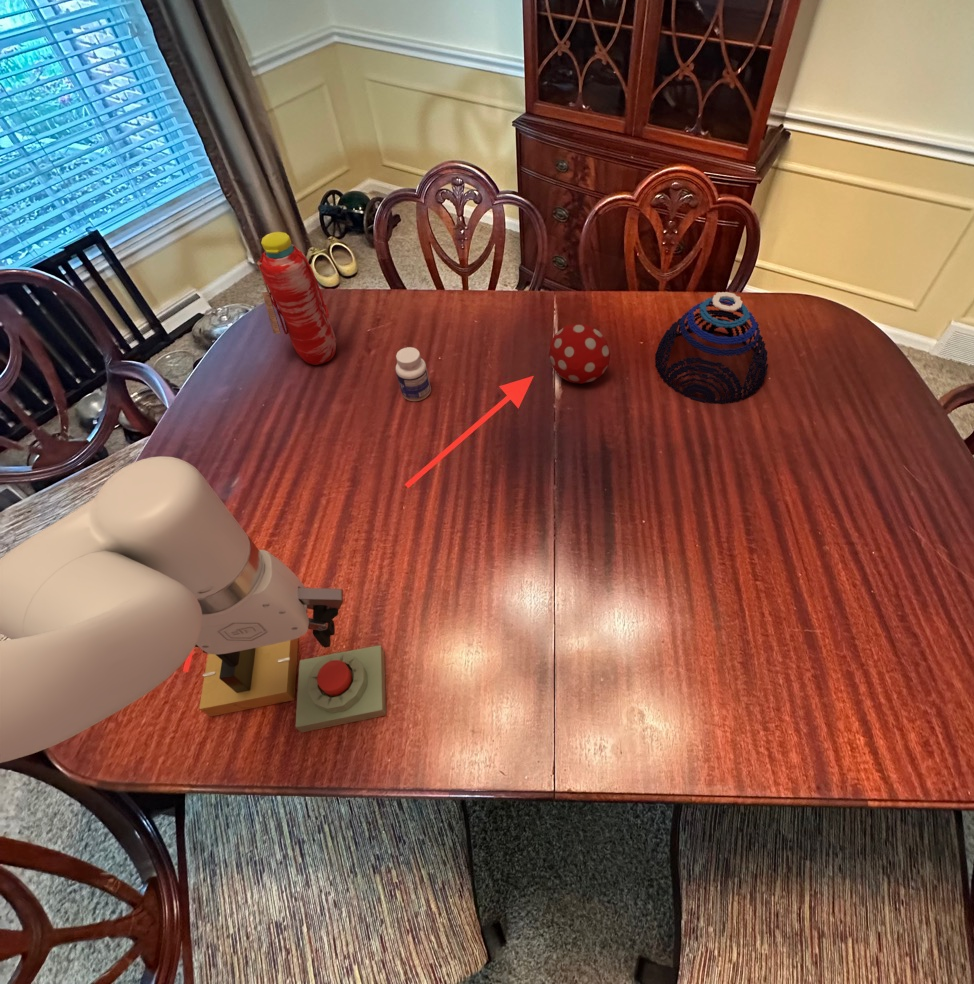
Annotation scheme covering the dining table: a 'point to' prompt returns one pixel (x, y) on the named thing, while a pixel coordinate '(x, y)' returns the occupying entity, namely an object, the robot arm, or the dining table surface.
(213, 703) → the plate
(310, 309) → the water bottle
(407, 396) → the pill bottle
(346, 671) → the release button
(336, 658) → the button block
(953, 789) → the dining table surface
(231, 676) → the block
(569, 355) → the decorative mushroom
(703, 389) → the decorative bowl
